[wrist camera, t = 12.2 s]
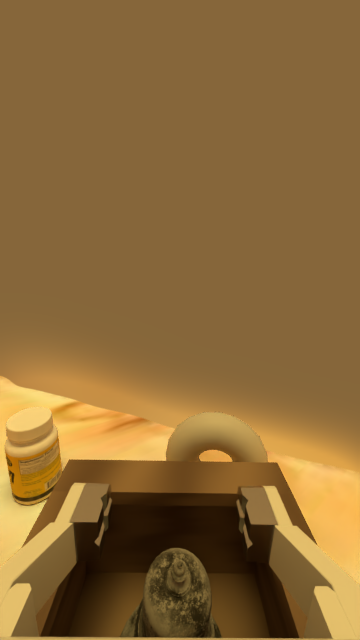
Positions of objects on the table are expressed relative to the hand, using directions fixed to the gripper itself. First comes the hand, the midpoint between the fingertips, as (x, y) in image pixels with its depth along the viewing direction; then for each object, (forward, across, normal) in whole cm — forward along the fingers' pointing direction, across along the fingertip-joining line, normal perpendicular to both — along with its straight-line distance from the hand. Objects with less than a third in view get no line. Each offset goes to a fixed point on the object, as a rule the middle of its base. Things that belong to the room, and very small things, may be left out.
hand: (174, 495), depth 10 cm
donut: (+12, +4, -15) cm, 20 cm away
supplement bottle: (+14, -14, -15) cm, 25 cm away
